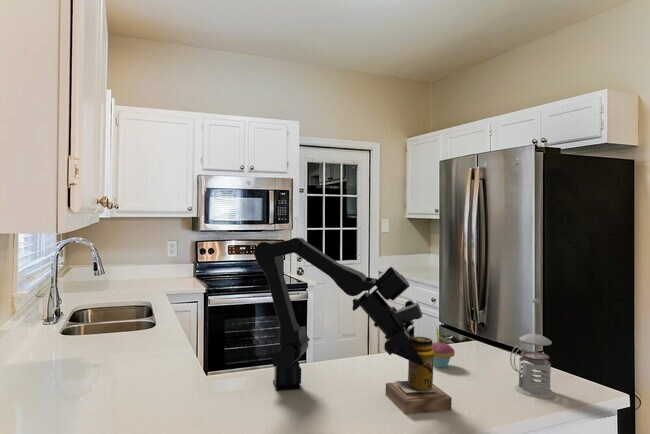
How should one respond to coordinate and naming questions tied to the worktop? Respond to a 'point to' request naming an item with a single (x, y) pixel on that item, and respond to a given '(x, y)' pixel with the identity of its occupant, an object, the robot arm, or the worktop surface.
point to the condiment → (420, 368)
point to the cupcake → (441, 353)
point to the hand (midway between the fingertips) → (423, 360)
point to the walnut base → (418, 400)
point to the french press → (534, 367)
